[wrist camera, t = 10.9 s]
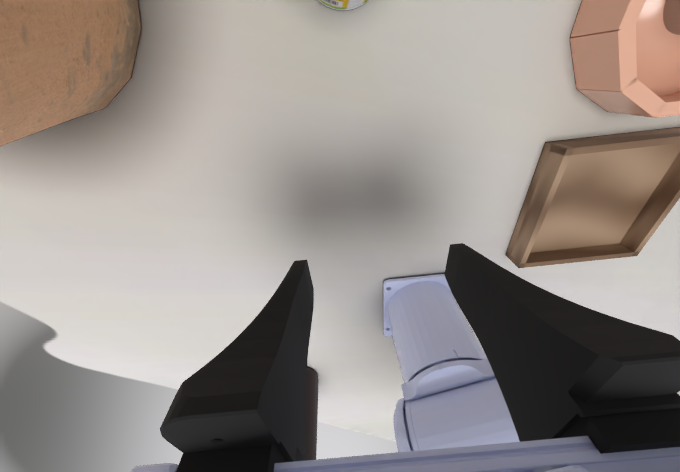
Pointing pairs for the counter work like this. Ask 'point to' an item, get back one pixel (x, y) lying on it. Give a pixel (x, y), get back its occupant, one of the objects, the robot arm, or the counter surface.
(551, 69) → the counter surface
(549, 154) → the tray
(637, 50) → the bowl
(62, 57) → the pottery
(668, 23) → the stone
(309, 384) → the vinegar
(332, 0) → the supplement bottle
